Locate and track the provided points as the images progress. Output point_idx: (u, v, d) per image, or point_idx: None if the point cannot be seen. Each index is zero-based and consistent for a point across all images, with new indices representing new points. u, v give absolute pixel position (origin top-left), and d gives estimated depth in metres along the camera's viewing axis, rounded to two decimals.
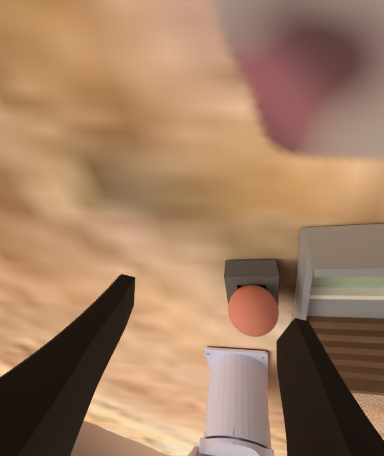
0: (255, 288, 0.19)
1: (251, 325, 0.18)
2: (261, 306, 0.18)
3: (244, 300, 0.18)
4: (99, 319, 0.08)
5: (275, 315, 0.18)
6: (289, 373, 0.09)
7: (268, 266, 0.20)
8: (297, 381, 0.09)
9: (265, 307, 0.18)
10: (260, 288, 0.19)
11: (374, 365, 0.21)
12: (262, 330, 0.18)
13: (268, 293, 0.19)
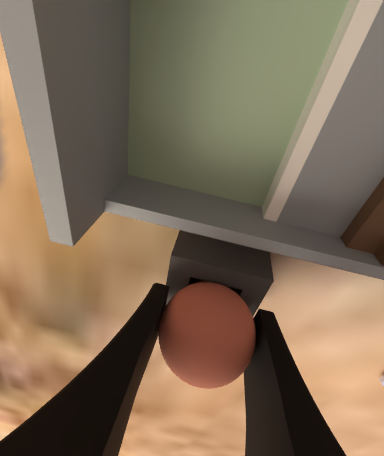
0: (168, 303, 0.10)
1: (181, 376, 0.09)
2: (164, 331, 0.09)
3: (159, 339, 0.10)
4: (143, 330, 0.08)
5: (197, 324, 0.08)
6: (251, 363, 0.10)
7: None
8: (257, 371, 0.09)
9: (168, 329, 0.09)
10: (175, 294, 0.10)
11: None
12: (201, 370, 0.08)
13: (181, 293, 0.10)
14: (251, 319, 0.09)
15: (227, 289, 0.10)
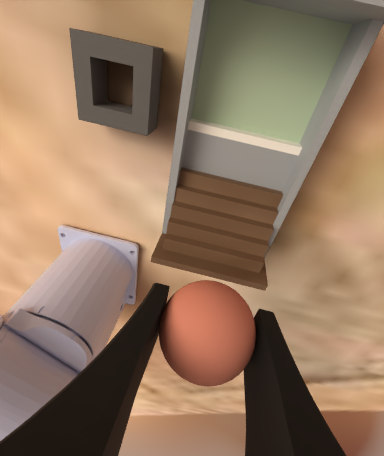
0: (168, 301, 0.10)
1: (183, 374, 0.09)
2: (165, 329, 0.09)
3: (159, 338, 0.10)
4: (143, 330, 0.08)
5: (199, 323, 0.08)
6: (251, 363, 0.10)
7: (147, 45, 0.13)
8: (257, 370, 0.09)
9: (170, 328, 0.09)
10: None
11: (249, 248, 0.16)
12: (203, 369, 0.08)
13: (181, 291, 0.10)
14: (251, 317, 0.09)
15: (227, 287, 0.10)
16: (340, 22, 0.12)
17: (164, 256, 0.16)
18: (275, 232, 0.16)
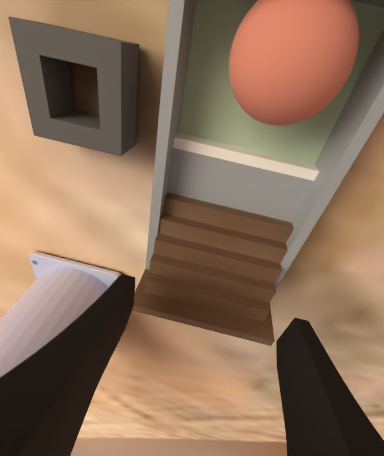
0: None
1: (255, 118, 0.09)
2: (237, 77, 0.08)
3: None
4: (99, 319, 0.08)
5: (279, 71, 0.07)
6: (289, 373, 0.09)
7: (116, 39, 0.10)
8: (297, 381, 0.09)
9: (242, 76, 0.08)
10: (248, 14, 0.07)
11: (251, 292, 0.13)
12: (277, 117, 0.08)
13: (258, 15, 0.07)
14: (355, 46, 0.07)
15: None
16: (376, 6, 0.08)
17: (145, 303, 0.13)
18: (283, 272, 0.13)
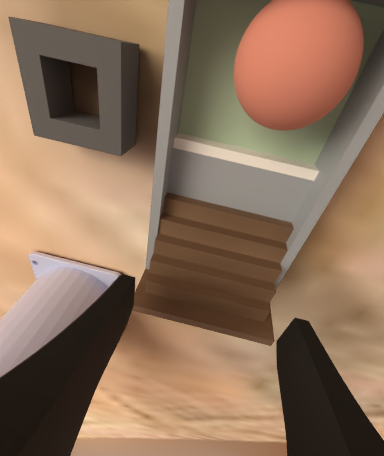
0: (244, 35, 0.08)
1: (261, 124, 0.09)
2: (245, 86, 0.08)
3: None
4: (99, 319, 0.08)
5: (290, 85, 0.07)
6: (289, 373, 0.09)
7: (116, 39, 0.10)
8: (297, 381, 0.09)
9: (250, 87, 0.08)
10: (256, 22, 0.07)
11: (251, 292, 0.13)
12: (284, 125, 0.08)
13: (268, 27, 0.07)
14: (361, 57, 0.07)
15: (343, 10, 0.06)
16: (376, 6, 0.08)
17: (145, 303, 0.13)
18: (283, 272, 0.13)
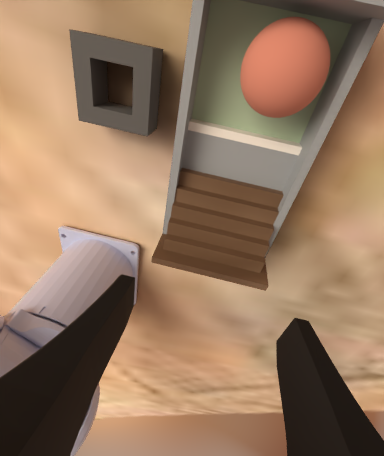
0: (249, 50, 0.11)
1: None
2: (251, 89, 0.11)
3: (240, 82, 0.12)
4: (99, 319, 0.08)
5: (284, 89, 0.10)
6: (289, 373, 0.09)
7: (146, 46, 0.13)
8: (297, 381, 0.09)
9: (256, 89, 0.11)
10: (258, 43, 0.10)
11: (249, 248, 0.16)
12: (278, 115, 0.12)
13: (268, 49, 0.10)
14: (328, 67, 0.10)
15: (317, 39, 0.10)
16: (340, 22, 0.12)
17: (164, 257, 0.16)
18: (275, 232, 0.16)
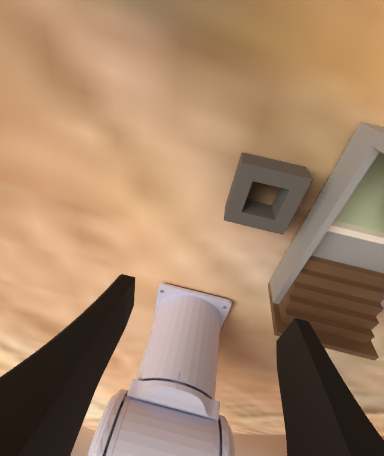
0: None
1: None
2: None
3: None
4: (99, 319, 0.08)
5: None
6: (289, 373, 0.09)
7: (297, 169, 0.15)
8: (297, 381, 0.09)
9: None
10: None
11: (359, 323, 0.19)
12: None
13: None
14: None
15: None
16: None
17: None
18: None
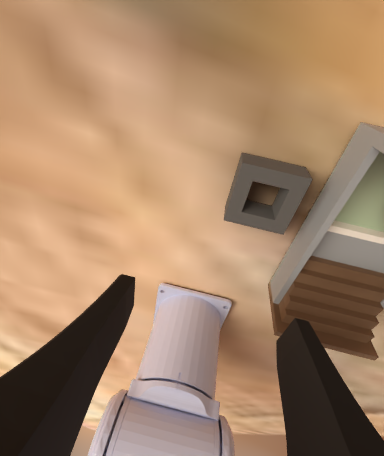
0: None
1: None
2: None
3: None
4: (99, 319, 0.08)
5: None
6: (289, 373, 0.09)
7: (297, 169, 0.15)
8: (297, 381, 0.09)
9: None
10: None
11: (359, 323, 0.19)
12: None
13: None
14: None
15: None
16: None
17: None
18: None
